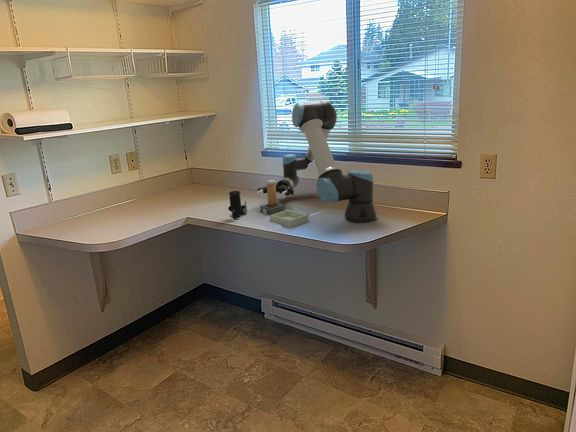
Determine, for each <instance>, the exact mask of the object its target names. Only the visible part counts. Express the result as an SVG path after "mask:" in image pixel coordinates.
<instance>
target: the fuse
mask: <svg viewBox="0 0 576 432" xmlns="http://www.w3.org/2000/svg"><path fill="white" fill-rule="evenodd" d="M276 184H277V182H276V180H275V179H269V180H266V187H267V193H266V194H267V204H268V207H271V208H273V207H276V206H277V203H278V202H277V192H276Z"/></svg>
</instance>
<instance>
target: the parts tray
mask: <svg viewBox="0 0 576 432" xmlns="http://www.w3.org/2000/svg"><path fill="white" fill-rule="evenodd" d="M269 221H270V222H275V223H279V224H280V225H281V226H282V227H286V228H290V229H292V228H294V227H297V226H300V225H302V224H305V223H308V222H309V214H307V213H303V212H300V211H294V210H290V209H286V210H285V211H282V212H279V213H276V214H273V215H269Z"/></svg>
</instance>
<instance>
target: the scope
mask: <svg viewBox="0 0 576 432" xmlns="http://www.w3.org/2000/svg"><path fill="white" fill-rule="evenodd" d="M228 195H229V206H228V211H229V212H230V213H232V220H234V221H238V220H240V218H241V217H242V215H247V213H248V209H247V201H246V200H244V204H242V202H241V201H242V200H241V191H239V190H232V191H229V192H228ZM238 218H239V219H238Z"/></svg>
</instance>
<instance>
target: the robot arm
mask: <svg viewBox="0 0 576 432" xmlns="http://www.w3.org/2000/svg"><path fill="white" fill-rule="evenodd" d="M337 114H338V113H337V111H336V108H335V107H334V105H332V104H331V103H330V102H329V101H326V100H318V101H315V100H314V101H301V102H297V103H295V104H294V106H293V108H292V113H291V121H292V125H293V126H294V127H295V128H299V130H300V132H301V134H304V135H305V138H306V141H307V144H308V148H307V149H306V153H305V155H306V157H305V158H304V157H302V156H297V155H296V154H295V153H287V154H284V155H283V156H282V167H283V168H282V169H283V170H282V171H283V178H281V180H278V181H277V182H276V184H275V185H276V193H279V194H281V199H285V198H286V197H288V196H291V195H292V196H294V194H295V191H294V190H295V189H294V188H296V187H297V186H298V184H299V183H300V178H299V176H298V174H297V173H298V172H297V171H302V170H307V169H306V168H307V167H308V164H309V163H310V162H312V161H313V160H315V163H316V166H317V168H316V169H317V171H318V177H317V181H316V184H315V185H316V192H317V194H318V195H317V196H319V198H320V199H321V201H323V202H325V203H337V202H341V201H347V205H346V208H345V213H344V220H346V221H347V222H351V223H359V222H363V223H370V222H373V220H374V221H376V220H377V212H376V209H375V205H374V177H373V175H374V174H373V173H372V172H370V171H366V170H361V169H359V170H358V169H351V170H348V171H347V174H344V173H343V171H342V169H341V168H339V167H338V166H337V165H336V162H335V160H334V156H333V154H332V151H331V149H330V146H329V144H328V142H327V141H328V137H329V134H330V133H331V130H333V129H334V128H335V126H336V123H337V119H338V115H337ZM264 194H267V186H264V187H263V186H262V187H259V188H257V192H256V197H257V198H260V197H261V196H263V195H264Z"/></svg>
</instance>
